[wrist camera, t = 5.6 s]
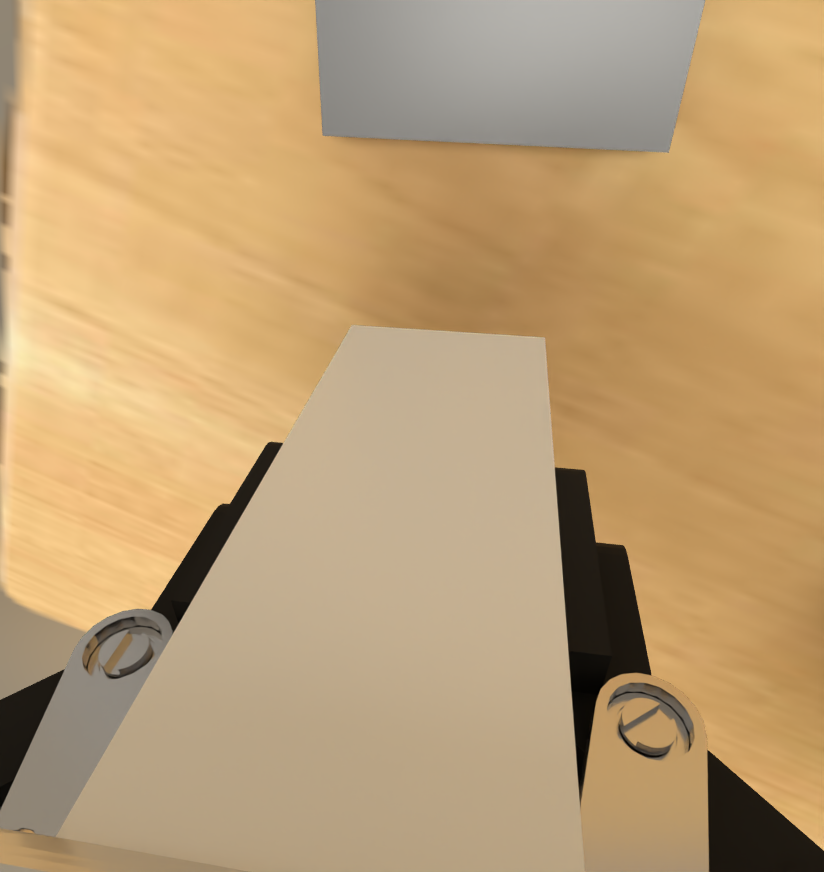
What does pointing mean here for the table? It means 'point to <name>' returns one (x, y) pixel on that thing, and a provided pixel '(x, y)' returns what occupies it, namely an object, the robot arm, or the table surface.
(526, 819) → the charger plug
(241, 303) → the table surface
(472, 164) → the table surface
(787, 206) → the table surface
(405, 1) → the plate
